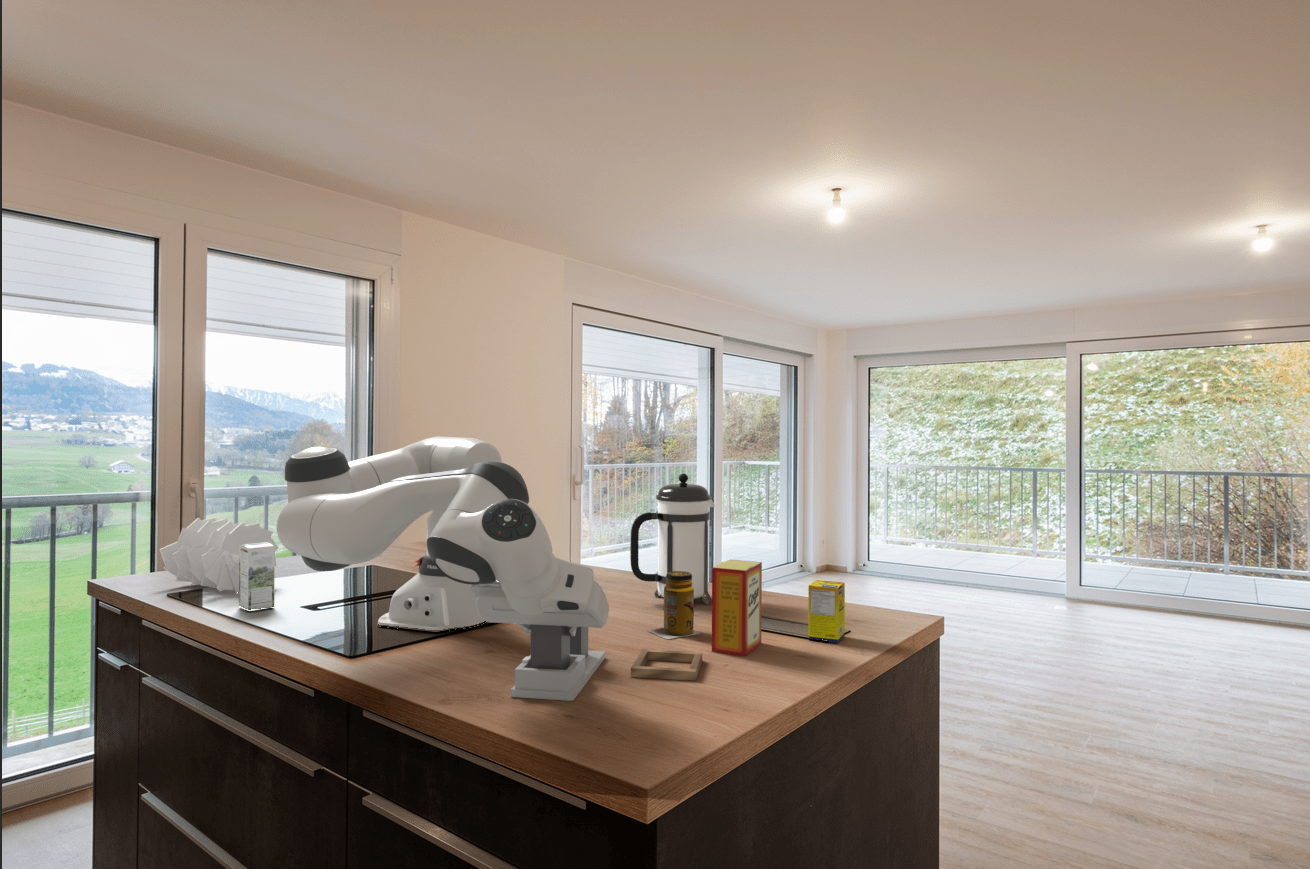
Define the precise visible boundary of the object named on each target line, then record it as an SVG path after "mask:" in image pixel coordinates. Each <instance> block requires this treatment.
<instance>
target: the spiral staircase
mask: <svg viewBox="0 0 1310 869" xmlns="http://www.w3.org/2000/svg"><path fill="white" fill-rule="evenodd" d="M248 523H249V522H248V521H247V522H239V523H233V522H232V520H228V517H225V518H222V519H219V520H218V519H217V517H216V516H215V517H211V518H205V519H201V518H200V517H197V518H196V519H195V520H193V521H192V522H191V523H190V524H189V525H188V526H186V527H182V529H181V530H180V534H179V536H178V538H177V540H176V542H173V543H171V544H168V545H166V546H164V547H162V548H159V550H158V551H159V554H160V556H161V559H162V561H163V563H164V566H163V567H162V568H163V569H164V570H165V571H167V572H168V573H170V574H171V575H172V576H174V577H175V578H176V579H175V582H183V583H184V582H185V583H186V582H187V583H189V582H190V583H191V586H193V585H194V586H198V585H200V586H203V587H209V588H215V589H216V590H219V591H220V590H223V591H232V592H233V591H234V593H237V592H239V545H245V544H254V543H263V542H267V543H270V544H272V545H273V546H274V547H275V552H276V551H277V550H278V549H280V548H279V546H278V545H277V543H276V541H275V540H274V539H273V538H272V535H273V532H274V531H272V530H268V529H266V528H263V527H261V524H260V522H256V523H250V524H248ZM276 567H277V561H276V558H275V561H274V568H276ZM219 591H218V592H219ZM220 592H221V591H220Z"/></svg>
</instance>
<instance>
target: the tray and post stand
mask: <svg viewBox="0 0 1310 869" xmlns="http://www.w3.org/2000/svg"><path fill="white" fill-rule="evenodd" d="M605 659H606V651H605V650H590V649H589V627H577V628H576V633H575V636H570V666H569V668H568V669H567V670H556V669H538V668H531V654H529V655H528V656H527V655H526V656H525V657H524V658H523V659H522V660H521V663H520V664H519V665H518V666H517V667H516V668H515V669H514V685H513V686H512V687H511V688H510V697H511V698H522V699H539V700H550V701H551V700H553V701H554V700H557V701H569V702H573V701H574V700H575V699H576V697H578V695H579V693H580V692H581V691H582V690H583V689H584V687H585V686H586V685H587V683H588V682H589V680H590V679H591V678H592V676H593V675H594V674H595V673H596V671H597V669H598V668H599V667H600V666H601V664H602V663H603V662H604V660H605Z"/></svg>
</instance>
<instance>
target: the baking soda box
mask: <svg viewBox="0 0 1310 869" xmlns="http://www.w3.org/2000/svg"><path fill="white" fill-rule="evenodd" d="M762 574H763V562H762V561H752V560H751V561H750V560H739V559H727V560H726V561H722V562H720V563H718V564H716V565H715V566H713V567H711V598H712V602H711V653H712V652H713V653H718V654H719V653H720V654H725V655H732V656H733V655H734V656H740V657H747V656H748V655H749V654H751V652H752V651H754V650H755V649H756V648H757V647H758V646H760V645H761V644H762V596H763V595H762V588H763V587H762V582H763V581H762V580H763V578H762V577H763V575H762Z"/></svg>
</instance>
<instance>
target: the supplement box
mask: <svg viewBox="0 0 1310 869" xmlns="http://www.w3.org/2000/svg"><path fill="white" fill-rule="evenodd" d="M845 586H846V585H845V582H844V581H833V580H820V579H815V580H814V581H813V582H811V583H809V584H808V590H807V591H808V597H807V598H808V601H807V603H808V606H807V607H808V608H807V609H808V610H807V611H808V613H807V614H808V615H807V616H808V618H807V619H808V620H807V621H808V622H807V623H808V627H807V628H808V630H807V631H808V633H807V634H808V640H809V639H812V640H811V641H813V639H814V640H815V639H818V640H822V639H823V640H827V641H829V642H828V643H831V644H839V643H840V642H841V641H842V639H843V638H844V637H845V630H846V628H845V625H846V624H845V623H846V619H845V617H846V615H845V614H846V613H845V612H846V609H845V607H846V606H845V605H846V604H845V602H846V601H845V600H846V598H845V597H846V596H845V593H846V592H845V590H846V589H845V588H846V587H845Z"/></svg>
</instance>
